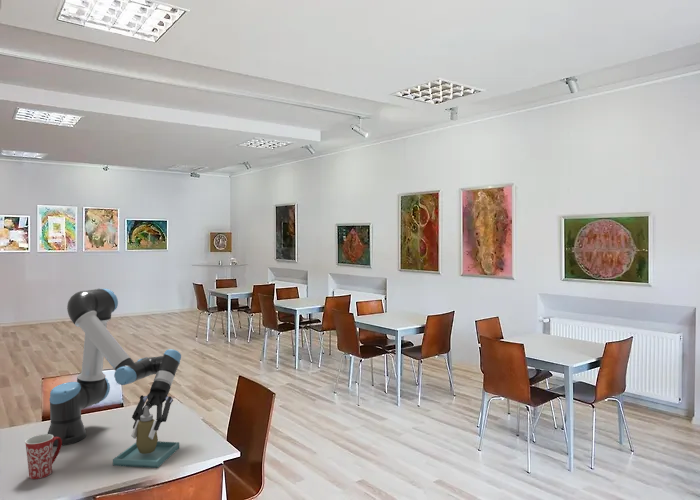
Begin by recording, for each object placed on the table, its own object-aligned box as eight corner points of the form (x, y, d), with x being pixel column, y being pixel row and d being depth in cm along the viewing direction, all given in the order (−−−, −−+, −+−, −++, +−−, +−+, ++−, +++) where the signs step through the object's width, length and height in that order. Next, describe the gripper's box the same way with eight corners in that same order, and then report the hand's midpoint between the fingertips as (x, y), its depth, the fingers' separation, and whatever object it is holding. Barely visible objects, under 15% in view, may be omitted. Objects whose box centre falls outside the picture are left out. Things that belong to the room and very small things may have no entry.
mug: (34, 482, 179) (33, 445, 179) (20, 477, 184) (19, 440, 183) (69, 468, 190) (68, 433, 190) (55, 463, 195) (54, 429, 195)
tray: (112, 465, 192) (112, 459, 192) (138, 446, 210) (138, 440, 210) (157, 468, 190) (156, 461, 190) (179, 448, 208) (179, 442, 208)
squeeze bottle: (132, 451, 200) (131, 406, 199) (152, 445, 206) (151, 401, 205) (141, 457, 194) (140, 411, 194) (161, 450, 200) (160, 406, 200)
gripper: (186, 389, 213) (168, 442, 198) (144, 387, 216) (123, 440, 200) (180, 380, 208) (161, 434, 192) (137, 379, 211) (114, 432, 195)
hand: (142, 437), depth 196 cm, fingers closed on squeeze bottle, 6 cm apart
